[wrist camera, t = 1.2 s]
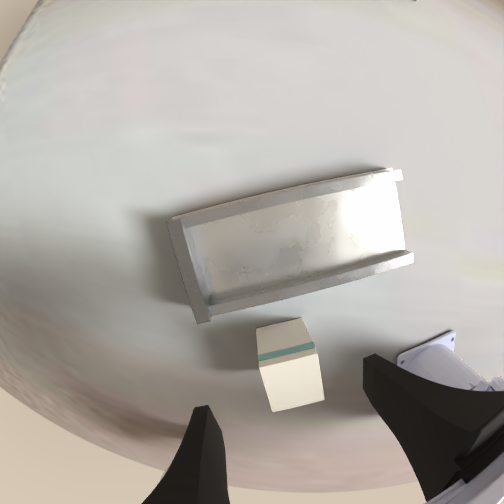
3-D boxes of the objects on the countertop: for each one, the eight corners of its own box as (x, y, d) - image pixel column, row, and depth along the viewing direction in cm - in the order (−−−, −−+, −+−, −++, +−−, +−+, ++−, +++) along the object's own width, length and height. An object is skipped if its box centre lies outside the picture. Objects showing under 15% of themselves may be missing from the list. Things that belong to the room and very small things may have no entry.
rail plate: (401, 258, 23) (420, 267, 20) (201, 310, 23) (195, 326, 20) (387, 168, 21) (406, 166, 18) (174, 216, 22) (162, 220, 18)
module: (309, 359, 24) (325, 400, 19) (266, 369, 25) (271, 412, 19) (301, 316, 24) (318, 352, 18) (255, 328, 24) (258, 367, 18)
